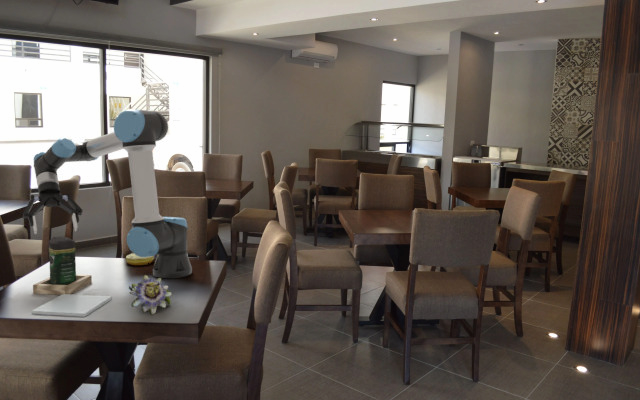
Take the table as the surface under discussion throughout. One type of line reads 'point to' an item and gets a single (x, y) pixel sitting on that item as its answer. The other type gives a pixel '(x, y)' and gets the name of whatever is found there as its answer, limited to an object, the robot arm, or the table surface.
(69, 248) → the coffee jar
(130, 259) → the decorated donut
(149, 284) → the passion flower
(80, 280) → the holder collar
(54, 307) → the ceramic tile
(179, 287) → the table surface
